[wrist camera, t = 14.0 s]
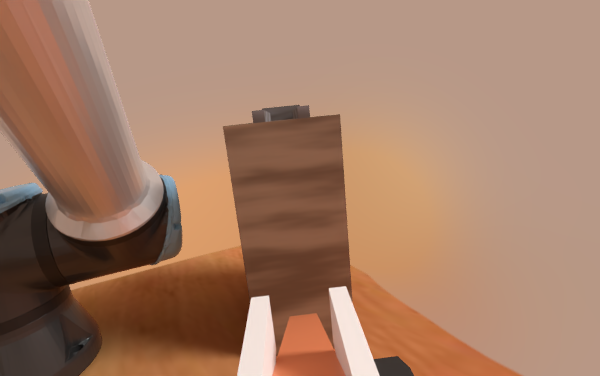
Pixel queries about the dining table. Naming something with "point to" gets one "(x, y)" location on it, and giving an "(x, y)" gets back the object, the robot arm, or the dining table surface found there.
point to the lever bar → (306, 350)
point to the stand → (291, 211)
